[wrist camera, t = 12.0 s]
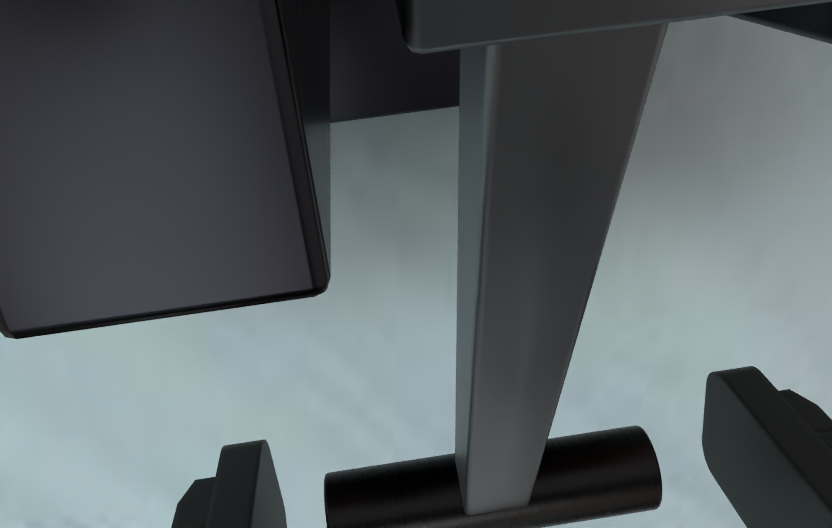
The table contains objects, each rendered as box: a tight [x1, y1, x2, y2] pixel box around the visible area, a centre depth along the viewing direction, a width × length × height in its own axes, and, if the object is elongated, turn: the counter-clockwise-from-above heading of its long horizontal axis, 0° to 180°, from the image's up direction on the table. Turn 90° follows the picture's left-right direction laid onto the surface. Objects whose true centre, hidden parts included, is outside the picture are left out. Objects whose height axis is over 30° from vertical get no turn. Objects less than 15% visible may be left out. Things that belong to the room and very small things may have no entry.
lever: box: [324, 0, 832, 528], centre depth 8 cm, size 14×6×2 cm, turn 6°
